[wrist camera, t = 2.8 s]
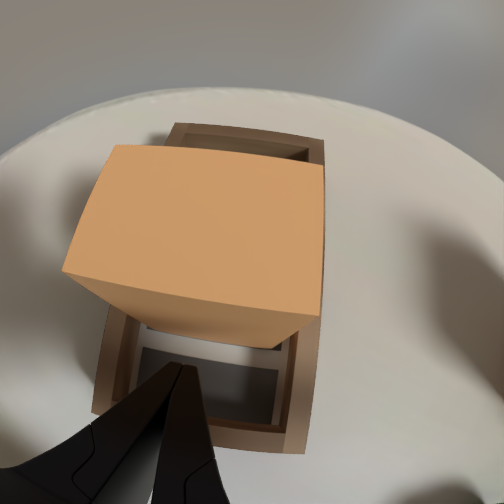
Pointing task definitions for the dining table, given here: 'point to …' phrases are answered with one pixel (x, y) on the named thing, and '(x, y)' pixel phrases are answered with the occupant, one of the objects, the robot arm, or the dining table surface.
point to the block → (204, 242)
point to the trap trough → (222, 354)
